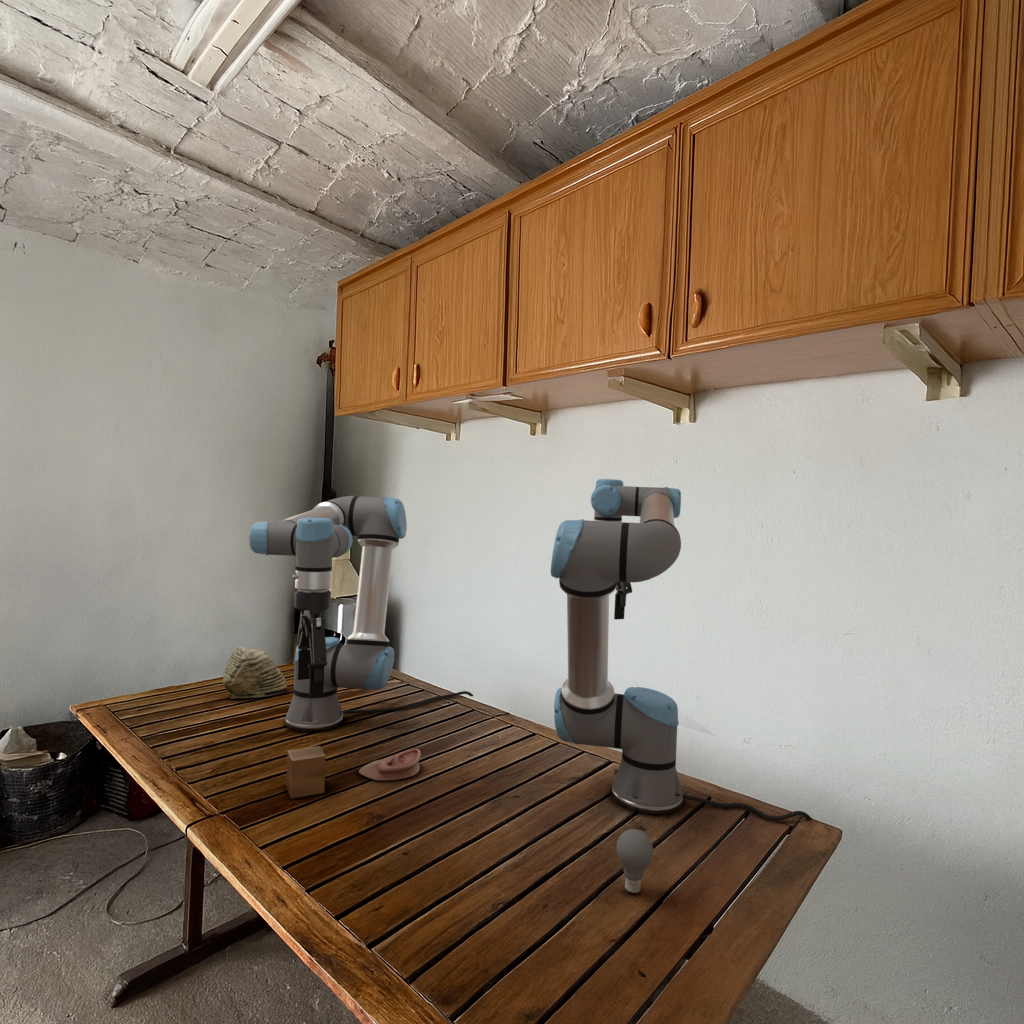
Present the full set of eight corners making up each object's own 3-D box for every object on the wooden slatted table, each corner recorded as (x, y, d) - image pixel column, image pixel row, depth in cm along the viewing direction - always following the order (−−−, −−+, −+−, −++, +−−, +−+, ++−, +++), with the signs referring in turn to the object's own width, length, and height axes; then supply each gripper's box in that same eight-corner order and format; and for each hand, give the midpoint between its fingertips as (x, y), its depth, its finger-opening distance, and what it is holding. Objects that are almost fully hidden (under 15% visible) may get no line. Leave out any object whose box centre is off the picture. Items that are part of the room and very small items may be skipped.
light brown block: (286, 786, 138) (287, 750, 137) (318, 781, 141) (320, 745, 141) (290, 798, 132) (292, 760, 132) (324, 792, 136) (325, 755, 135)
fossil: (218, 695, 195) (220, 647, 195) (278, 685, 208) (279, 640, 207) (228, 703, 189) (230, 653, 188) (289, 692, 201) (290, 645, 201)
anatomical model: (353, 759, 143) (374, 741, 154) (352, 777, 143) (373, 757, 154) (408, 767, 140) (426, 748, 152) (408, 785, 140) (425, 764, 152)
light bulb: (610, 879, 108) (613, 822, 108) (644, 879, 109) (647, 822, 109) (619, 902, 102) (622, 840, 102) (655, 901, 103) (658, 840, 103)
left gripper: (285, 581, 145) (282, 673, 146) (305, 600, 123) (302, 708, 124) (319, 581, 149) (316, 670, 149) (344, 598, 127) (340, 703, 127)
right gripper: (570, 533, 181) (566, 607, 181) (625, 539, 159) (621, 624, 159) (591, 533, 184) (588, 606, 184) (648, 539, 162) (644, 622, 163)
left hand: (309, 688), depth 136 cm, fingers open, 13 cm apart
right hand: (603, 614), depth 172 cm, fingers open, 13 cm apart
